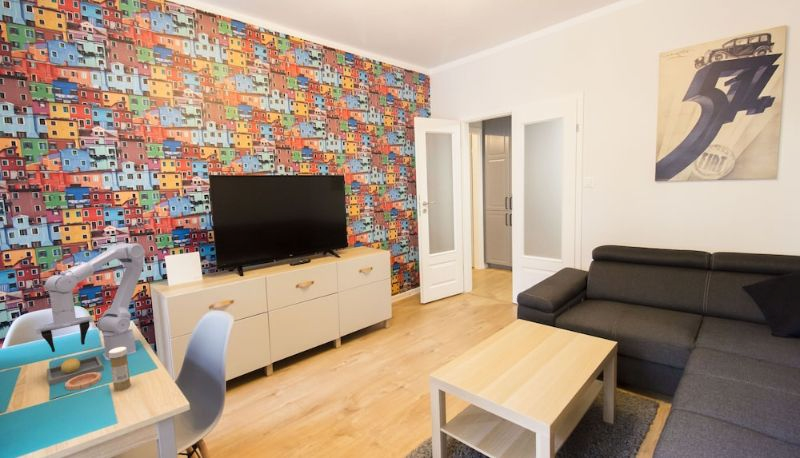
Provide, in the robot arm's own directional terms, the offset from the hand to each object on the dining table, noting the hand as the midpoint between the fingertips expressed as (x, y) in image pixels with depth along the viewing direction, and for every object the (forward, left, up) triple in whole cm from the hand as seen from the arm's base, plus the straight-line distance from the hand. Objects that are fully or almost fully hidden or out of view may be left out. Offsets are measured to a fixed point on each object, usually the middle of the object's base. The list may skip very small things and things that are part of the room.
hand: (68, 347), depth 129 cm
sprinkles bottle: (-10, +26, -10) cm, 30 cm away
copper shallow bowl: (-2, +12, -10) cm, 16 cm away
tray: (-1, 0, -10) cm, 10 cm away
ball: (0, 0, -9) cm, 9 cm away
